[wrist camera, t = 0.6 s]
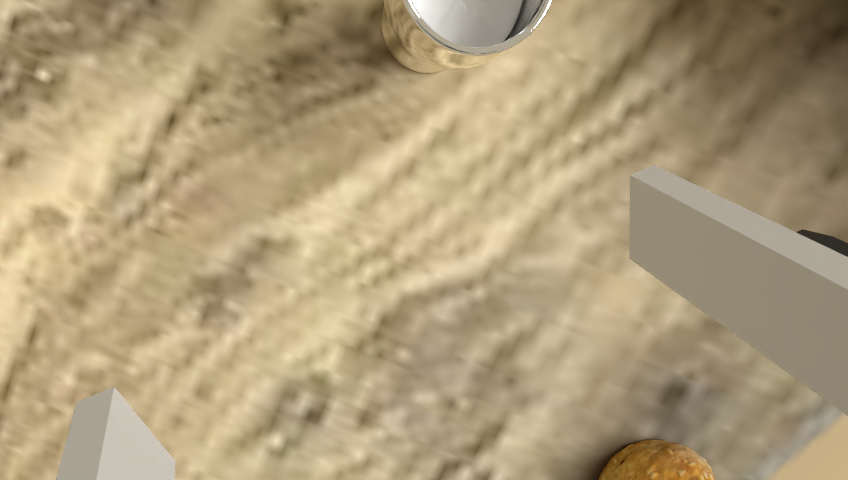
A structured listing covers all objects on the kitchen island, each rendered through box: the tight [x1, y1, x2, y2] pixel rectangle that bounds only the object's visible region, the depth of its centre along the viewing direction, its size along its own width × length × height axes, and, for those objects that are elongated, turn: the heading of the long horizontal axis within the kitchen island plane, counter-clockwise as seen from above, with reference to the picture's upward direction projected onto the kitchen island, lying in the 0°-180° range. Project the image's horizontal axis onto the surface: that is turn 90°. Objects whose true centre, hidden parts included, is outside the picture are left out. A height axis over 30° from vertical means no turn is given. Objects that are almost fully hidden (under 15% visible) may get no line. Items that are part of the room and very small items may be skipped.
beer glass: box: [382, 0, 552, 73], centre depth 28 cm, size 7×7×15 cm
